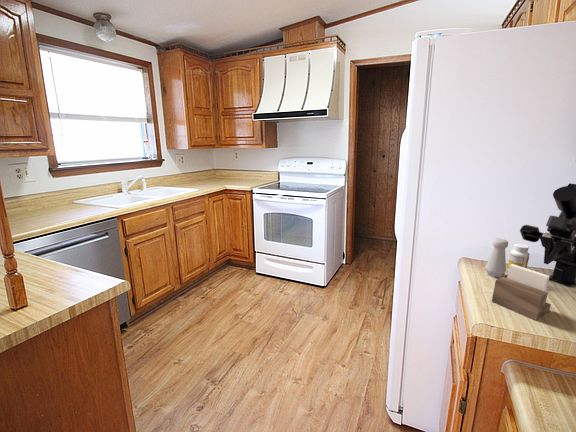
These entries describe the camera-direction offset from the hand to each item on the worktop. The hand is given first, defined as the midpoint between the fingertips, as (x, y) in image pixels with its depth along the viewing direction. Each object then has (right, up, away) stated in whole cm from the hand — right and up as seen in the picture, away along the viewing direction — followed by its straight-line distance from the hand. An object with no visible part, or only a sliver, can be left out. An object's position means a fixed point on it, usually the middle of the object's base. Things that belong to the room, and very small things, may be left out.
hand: (545, 263), depth 92 cm
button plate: (-9, -9, -3) cm, 13 cm away
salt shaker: (-5, -7, +16) cm, 18 cm away
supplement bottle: (+5, -6, +18) cm, 20 cm away
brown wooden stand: (-10, -12, -3) cm, 16 cm away
